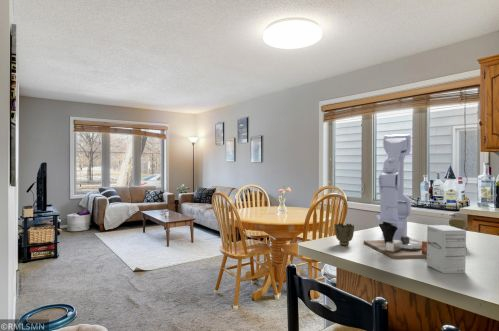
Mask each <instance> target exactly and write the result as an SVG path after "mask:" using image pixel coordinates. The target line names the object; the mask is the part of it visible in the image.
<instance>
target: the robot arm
mask: <svg viewBox="0 0 499 331" xmlns="http://www.w3.org/2000/svg"><path fill="white" fill-rule="evenodd" d="M382 141H383V142H382V144H383V146H382V147H383V149H384V152H385V153H386V155H387V159H385V160H384V162H383V168H382V171H381V174H379V175H378V187H379V194H380V198H379V200H380V205H379V206H380V208H379V210H380V211H379V214H375V217H374V218H375V221H379V222H382V223H379V224H378V226H379V228H380V230H381V232H382V234H381V235H383V236H382V237H383V240H384V241H385V244H386V242H389V241H392V240H395V239H401V236H407V237H409V239H413V238H412V237H410V236H408V218H410V217H411V216H412V204H411V202H412V201H411V200H412V199H411V198H410V197H409V196H407V195H406V194H404V178H405V177H404V176H405V158H406V156H407V155H409V154H410V153H411V143H412V142H411V135H410V133H408V134H390V135H387V134H385V135H384V136H383V140H382Z"/></svg>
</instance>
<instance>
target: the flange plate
mask: <svg viewBox="0 0 499 331" xmlns="http://www.w3.org/2000/svg"><path fill="white" fill-rule="evenodd" d="M400 249H404V250H420V249H422V244H420V243H418V242H415V241H410V240H409V243H402V241H401V239H395V240H394V239H393V240H392V241H389V242H386V250H388V251H392V252H395V251H397V250H400Z"/></svg>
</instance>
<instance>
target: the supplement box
mask: <svg viewBox="0 0 499 331" xmlns="http://www.w3.org/2000/svg"><path fill="white" fill-rule="evenodd" d="M426 227H427V228H426V229H427V230H426V233H427V235H426V241H427V258H426V265H427V267H431V268H433V269H434V270H436V271H438V272H440V273H441V274H466V253H467V230H465V229H464V230H462V229H459V228H455V227H452V226H450V225H449V224H448V225H447V224H446V225H443V224H442V225H441V224H440V225H439V224H434V225H426Z"/></svg>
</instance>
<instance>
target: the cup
mask: <svg viewBox="0 0 499 331" xmlns="http://www.w3.org/2000/svg"><path fill="white" fill-rule="evenodd" d="M333 225H334V232H335V238H336V240H337V241H339V242H338V243H339V245H340V246H342V247H343V246H344V247H347V246H349V245H350V242H351V241H352V240H353V238H354V234H355V233H354V232H355V225H354V224H352V223H346V225H345V224H344V223H342V222H338V223H337V222H336V223H335V224H333Z"/></svg>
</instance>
